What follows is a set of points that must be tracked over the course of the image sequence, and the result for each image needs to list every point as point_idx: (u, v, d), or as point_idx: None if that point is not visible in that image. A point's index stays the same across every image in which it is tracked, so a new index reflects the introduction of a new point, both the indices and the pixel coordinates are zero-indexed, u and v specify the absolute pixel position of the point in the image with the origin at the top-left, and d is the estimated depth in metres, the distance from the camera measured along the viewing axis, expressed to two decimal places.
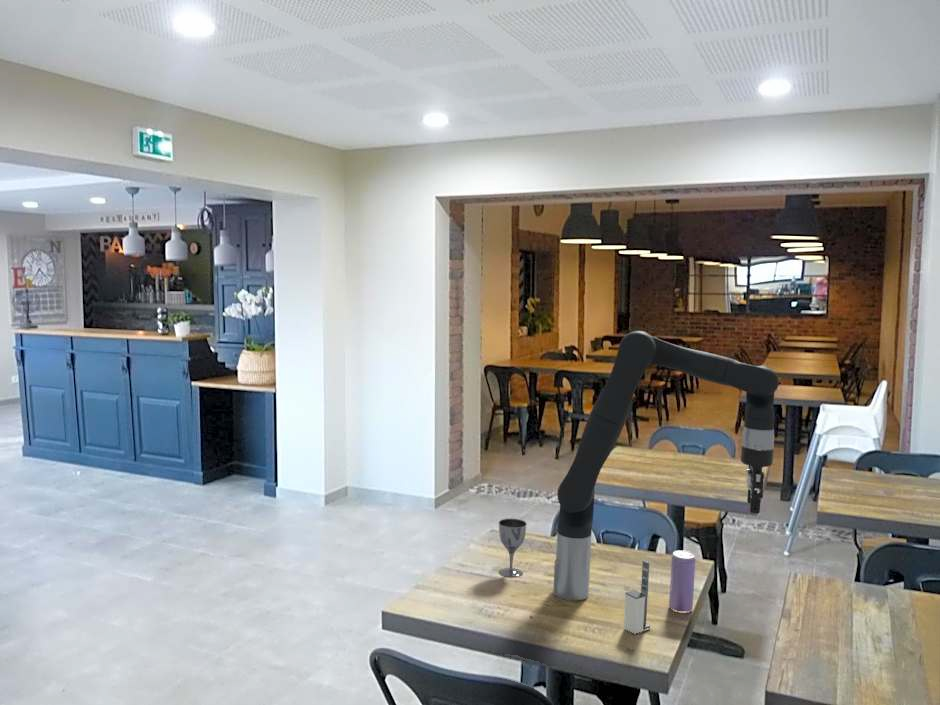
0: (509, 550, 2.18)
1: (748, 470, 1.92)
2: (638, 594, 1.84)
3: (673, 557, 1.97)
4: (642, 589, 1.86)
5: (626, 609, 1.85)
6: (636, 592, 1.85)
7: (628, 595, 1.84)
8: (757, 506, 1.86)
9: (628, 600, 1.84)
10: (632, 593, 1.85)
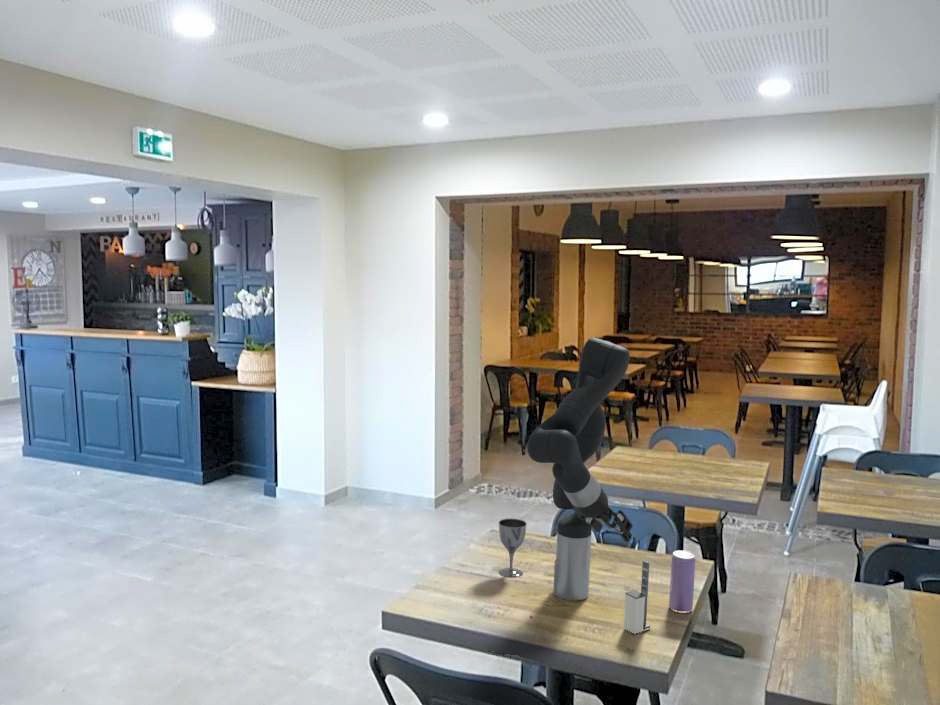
0: (509, 550, 2.18)
1: None
2: (638, 594, 1.84)
3: (673, 557, 1.97)
4: (642, 589, 1.86)
5: (626, 609, 1.85)
6: (636, 592, 1.85)
7: (628, 595, 1.84)
8: None
9: (628, 600, 1.84)
10: (632, 593, 1.85)
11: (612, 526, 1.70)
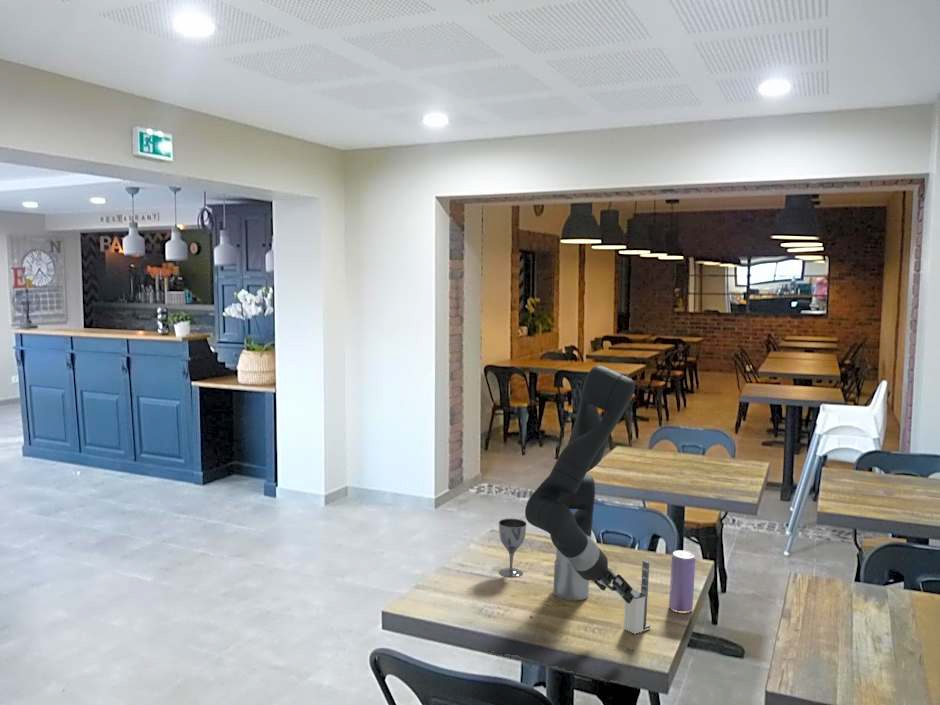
0: (509, 550, 2.18)
1: None
2: (638, 594, 1.84)
3: (673, 557, 1.97)
4: (642, 589, 1.86)
5: (626, 609, 1.85)
6: (636, 592, 1.85)
7: None
8: None
9: None
10: (632, 593, 1.85)
11: (612, 588, 1.74)
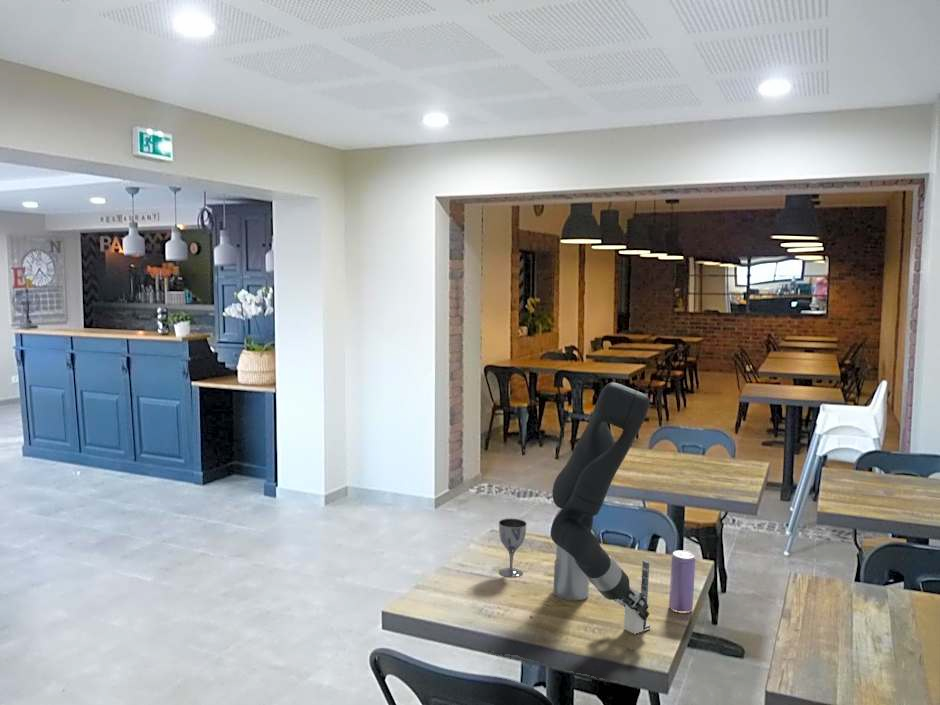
0: (509, 550, 2.18)
1: None
2: (638, 594, 1.84)
3: (673, 557, 1.97)
4: (642, 589, 1.86)
5: (626, 609, 1.85)
6: (636, 592, 1.85)
7: None
8: None
9: None
10: None
11: (632, 607, 1.80)
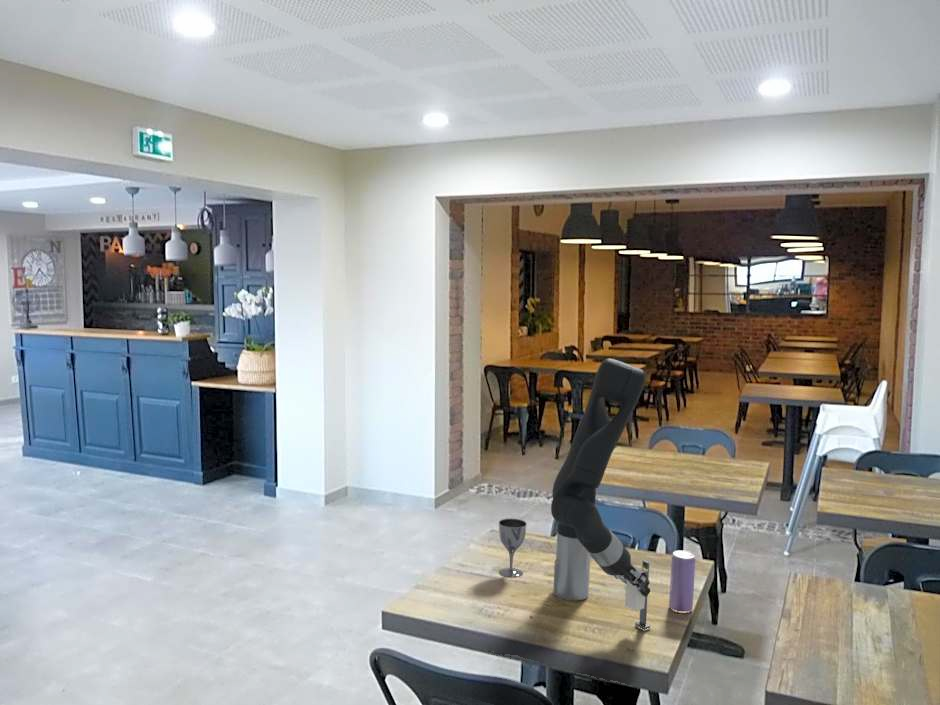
0: (509, 550, 2.18)
1: None
2: (639, 571, 1.84)
3: (673, 557, 1.97)
4: None
5: (627, 586, 1.84)
6: (637, 569, 1.85)
7: None
8: None
9: None
10: None
11: (633, 583, 1.80)
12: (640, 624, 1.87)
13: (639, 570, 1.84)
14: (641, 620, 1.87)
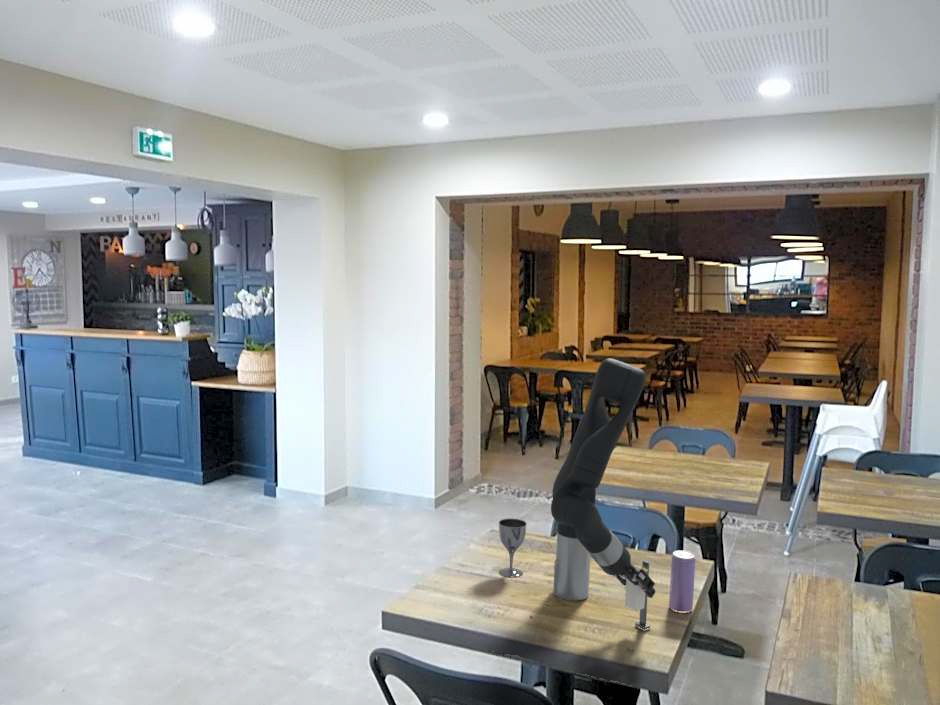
0: (509, 550, 2.18)
1: None
2: (639, 570, 1.84)
3: (673, 557, 1.97)
4: None
5: (627, 586, 1.84)
6: None
7: None
8: None
9: None
10: None
11: (635, 583, 1.78)
12: (640, 624, 1.87)
13: (639, 570, 1.84)
14: (641, 620, 1.87)
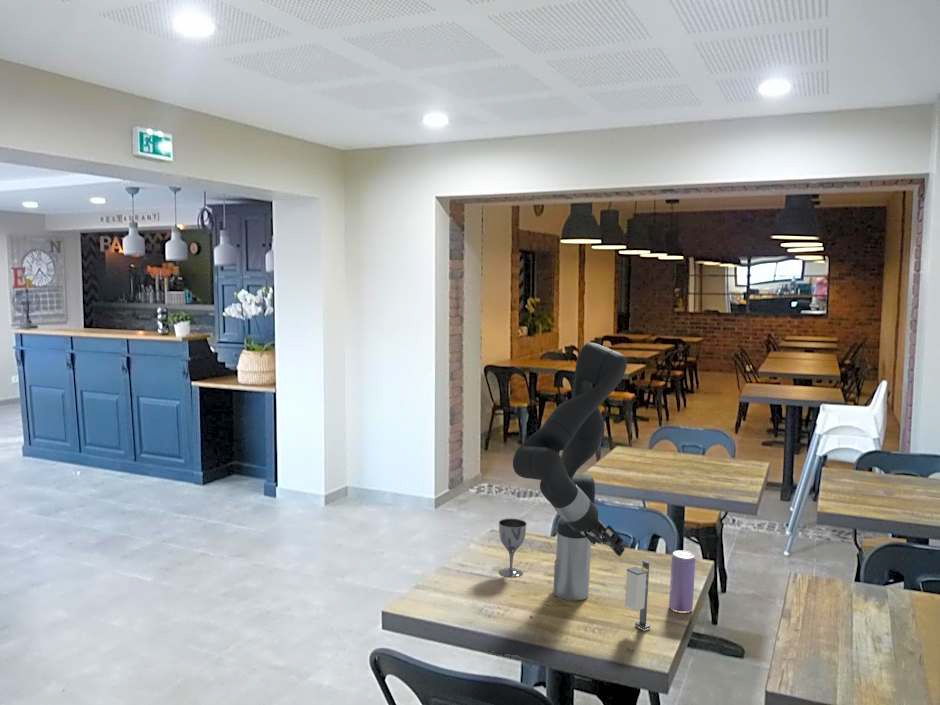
0: (509, 550, 2.18)
1: None
2: (639, 570, 1.84)
3: (673, 557, 1.97)
4: None
5: (627, 586, 1.84)
6: (637, 569, 1.85)
7: (629, 571, 1.84)
8: None
9: (629, 576, 1.84)
10: (633, 569, 1.84)
11: (603, 540, 1.71)
12: (640, 624, 1.87)
13: (639, 570, 1.84)
14: (641, 620, 1.87)
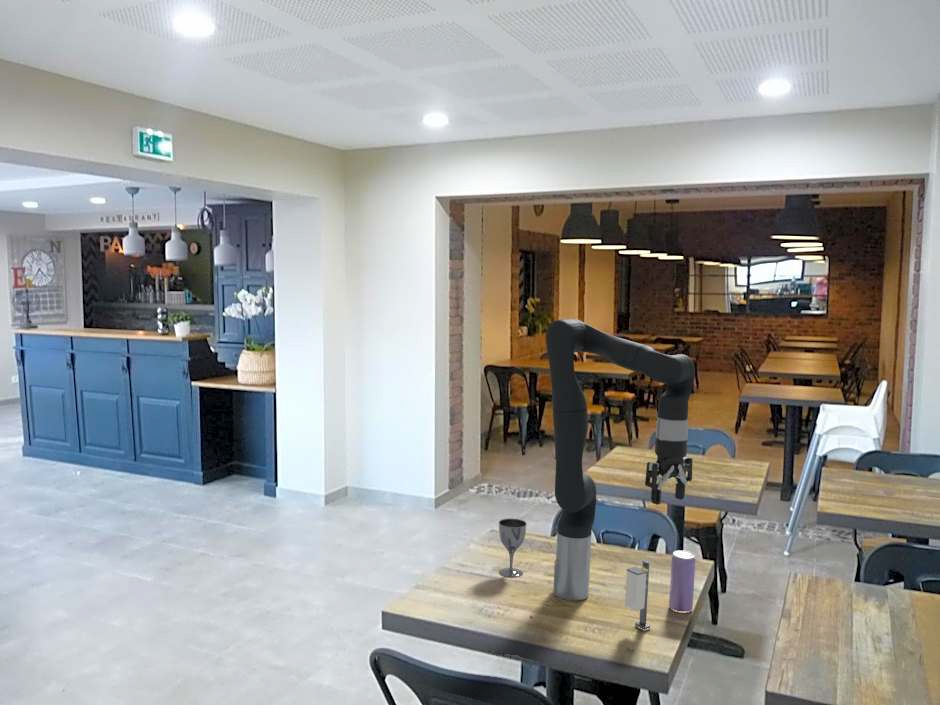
0: (509, 550, 2.18)
1: None
2: (639, 570, 1.84)
3: (673, 557, 1.97)
4: None
5: (627, 586, 1.84)
6: (637, 569, 1.85)
7: (629, 571, 1.84)
8: (654, 496, 1.81)
9: (629, 576, 1.84)
10: (633, 569, 1.84)
11: None
12: (640, 624, 1.87)
13: (639, 570, 1.84)
14: (641, 620, 1.87)
